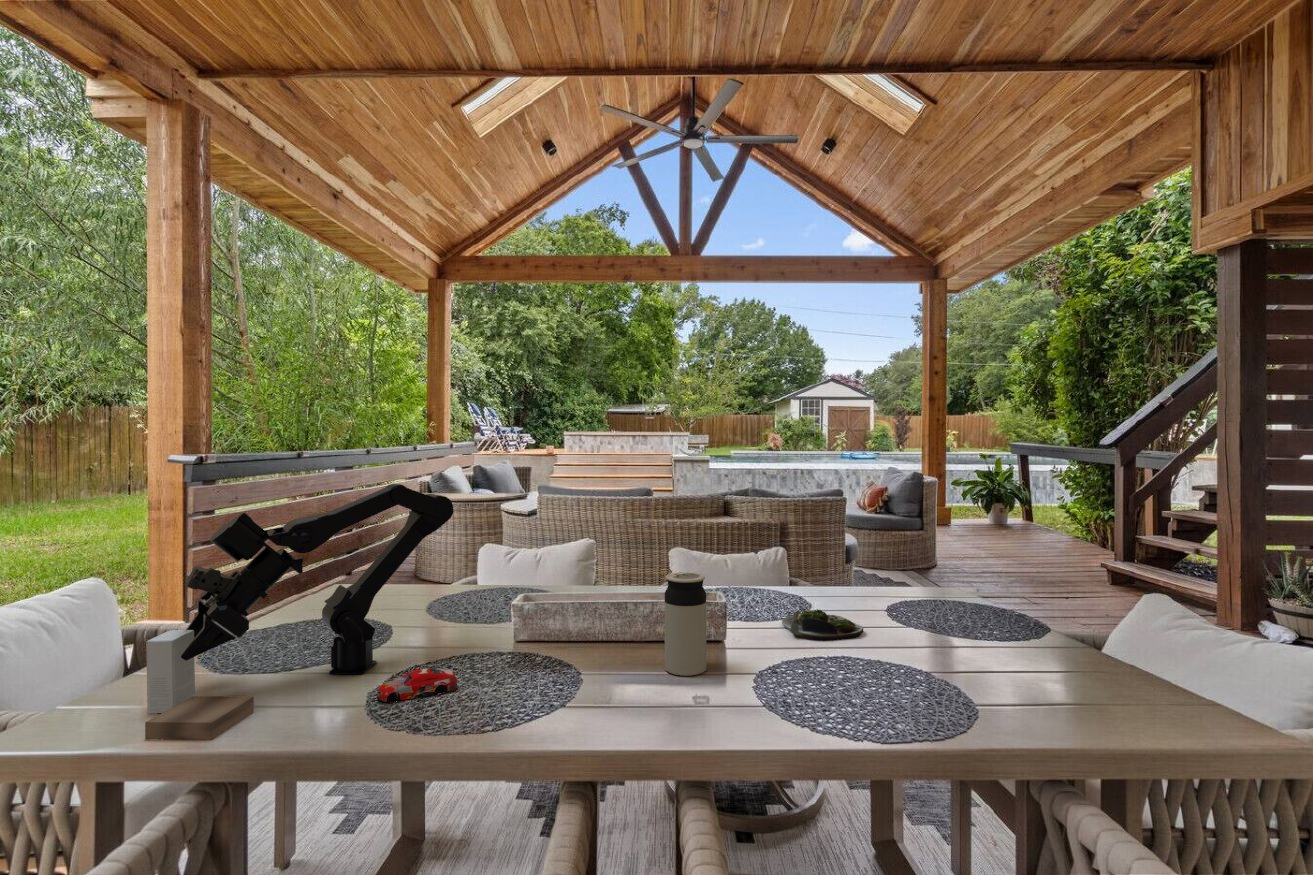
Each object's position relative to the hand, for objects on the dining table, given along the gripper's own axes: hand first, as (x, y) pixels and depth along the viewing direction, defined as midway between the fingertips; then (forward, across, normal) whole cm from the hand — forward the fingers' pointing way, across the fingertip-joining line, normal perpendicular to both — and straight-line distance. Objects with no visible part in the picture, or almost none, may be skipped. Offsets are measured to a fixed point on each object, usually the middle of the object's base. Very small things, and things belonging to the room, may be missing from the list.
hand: (181, 651), depth 112 cm
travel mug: (-48, +40, +60) cm, 87 cm away
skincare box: (+7, 0, +6) cm, 9 cm away
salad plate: (-78, +40, +90) cm, 125 cm away
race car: (-17, +20, +30) cm, 39 cm away
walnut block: (+5, +12, +8) cm, 15 cm away
